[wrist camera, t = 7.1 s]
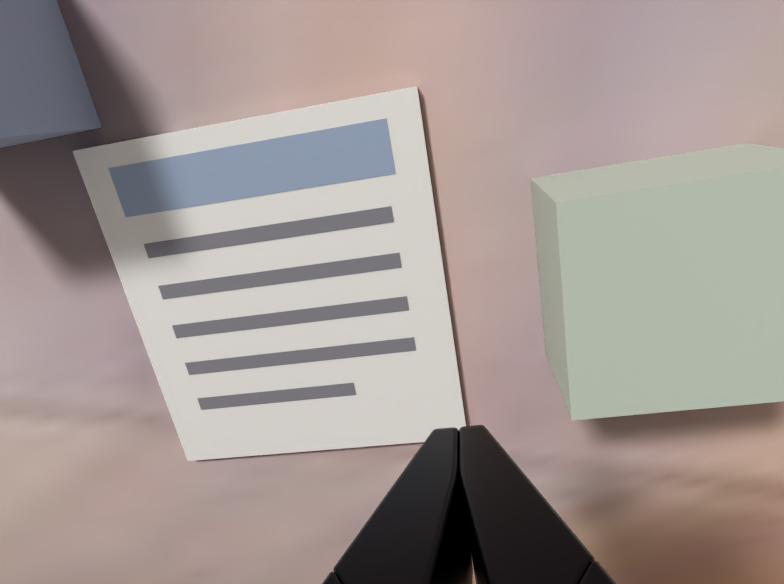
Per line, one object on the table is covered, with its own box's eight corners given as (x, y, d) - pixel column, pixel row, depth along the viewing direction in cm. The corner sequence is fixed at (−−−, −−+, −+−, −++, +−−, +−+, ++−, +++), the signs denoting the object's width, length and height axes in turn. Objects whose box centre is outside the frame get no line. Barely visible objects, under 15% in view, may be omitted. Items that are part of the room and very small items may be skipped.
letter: (467, 433, 19) (467, 438, 18) (191, 456, 20) (187, 461, 20) (417, 86, 15) (416, 86, 14) (78, 150, 16) (71, 150, 16)
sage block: (733, 331, 17) (817, 398, 13) (544, 352, 18) (571, 420, 14) (743, 142, 15) (844, 157, 11) (529, 177, 16) (555, 202, 12)
